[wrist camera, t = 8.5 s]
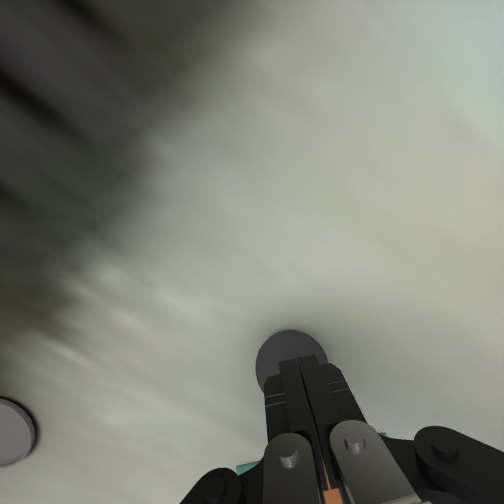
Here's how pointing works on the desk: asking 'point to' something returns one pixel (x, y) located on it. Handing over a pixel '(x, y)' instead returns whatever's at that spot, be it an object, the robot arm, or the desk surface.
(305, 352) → the black ball
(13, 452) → the pocket watch
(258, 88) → the desk surface
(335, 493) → the terracotta ball
